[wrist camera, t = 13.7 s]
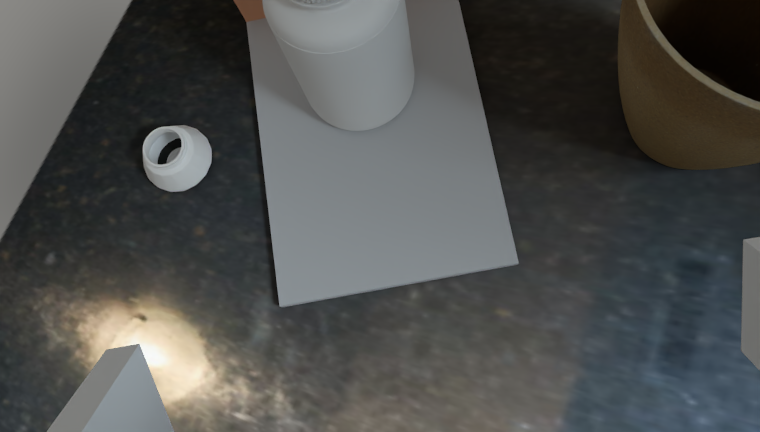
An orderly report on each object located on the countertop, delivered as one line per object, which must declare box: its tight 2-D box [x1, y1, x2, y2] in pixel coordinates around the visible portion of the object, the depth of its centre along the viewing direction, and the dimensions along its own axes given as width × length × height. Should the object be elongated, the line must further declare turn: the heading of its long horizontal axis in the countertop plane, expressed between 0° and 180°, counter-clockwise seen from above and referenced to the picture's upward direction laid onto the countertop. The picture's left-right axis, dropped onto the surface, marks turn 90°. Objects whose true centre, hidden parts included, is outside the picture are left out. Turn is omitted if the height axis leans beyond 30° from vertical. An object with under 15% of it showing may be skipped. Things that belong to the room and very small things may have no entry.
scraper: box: [234, 0, 519, 307], centre depth 43 cm, size 16×25×4 cm, turn 9°
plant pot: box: [618, 0, 760, 170], centre depth 34 cm, size 15×15×16 cm
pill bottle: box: [262, 0, 414, 131], centre depth 37 cm, size 8×8×15 cm
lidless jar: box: [143, 125, 212, 192], centre depth 44 cm, size 5×3×5 cm
